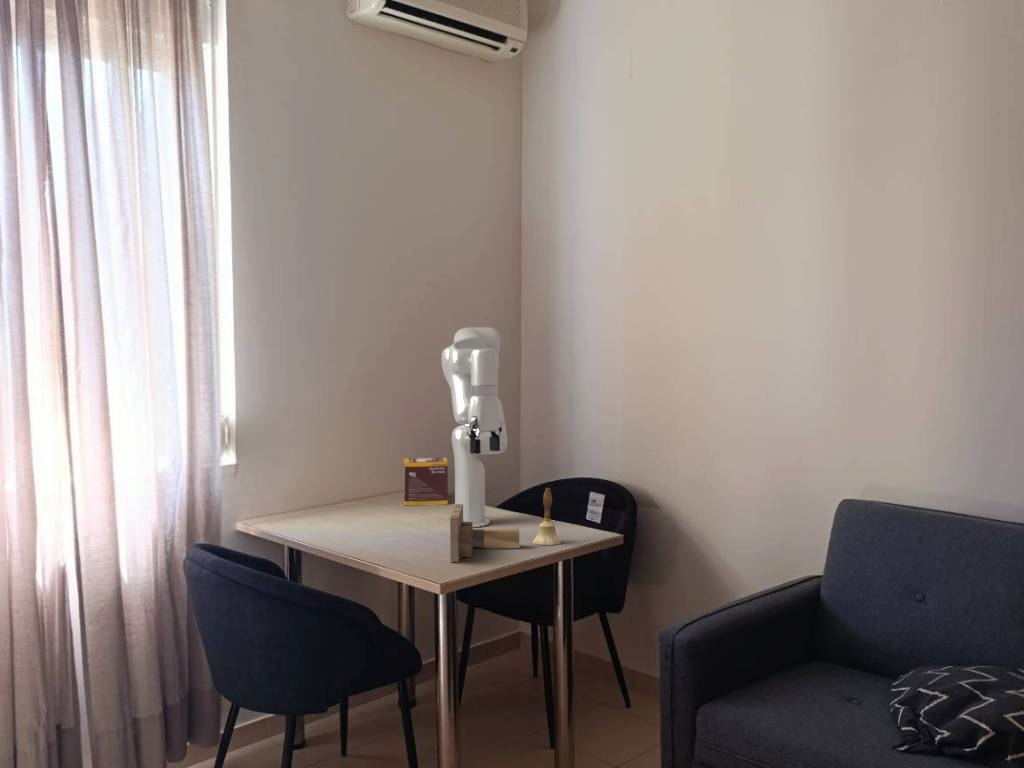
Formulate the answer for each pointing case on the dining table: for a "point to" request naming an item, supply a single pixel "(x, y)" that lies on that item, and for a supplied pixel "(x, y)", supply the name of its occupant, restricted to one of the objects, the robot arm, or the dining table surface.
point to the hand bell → (547, 524)
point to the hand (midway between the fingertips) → (485, 452)
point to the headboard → (460, 535)
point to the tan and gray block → (496, 538)
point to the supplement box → (425, 481)
